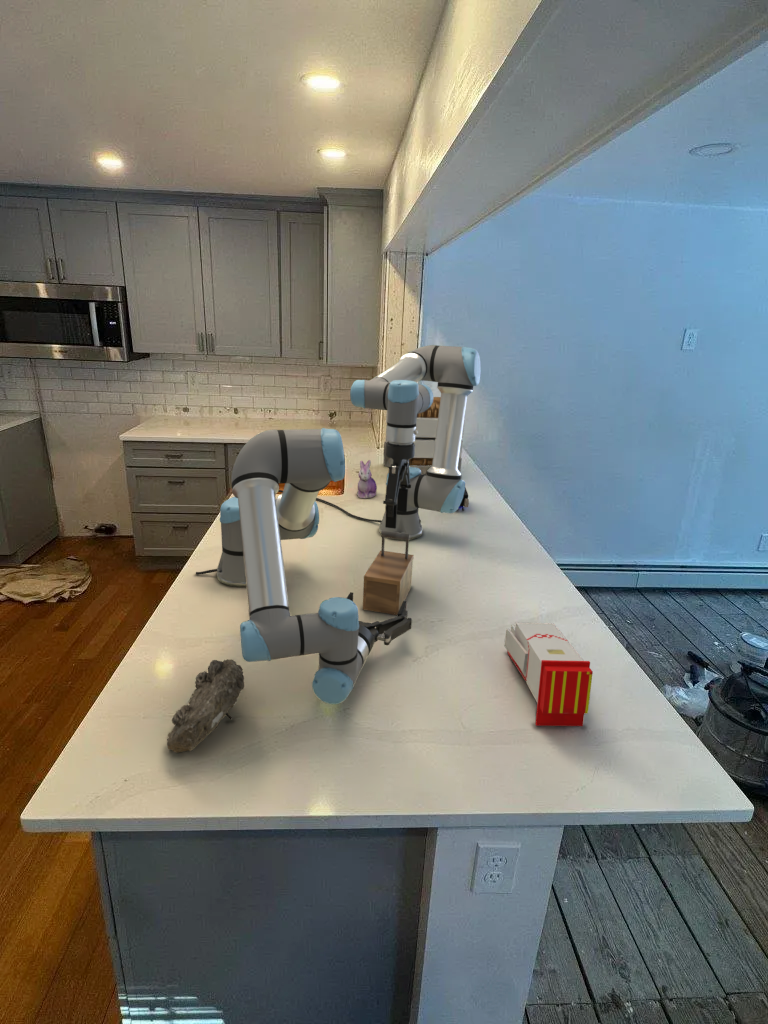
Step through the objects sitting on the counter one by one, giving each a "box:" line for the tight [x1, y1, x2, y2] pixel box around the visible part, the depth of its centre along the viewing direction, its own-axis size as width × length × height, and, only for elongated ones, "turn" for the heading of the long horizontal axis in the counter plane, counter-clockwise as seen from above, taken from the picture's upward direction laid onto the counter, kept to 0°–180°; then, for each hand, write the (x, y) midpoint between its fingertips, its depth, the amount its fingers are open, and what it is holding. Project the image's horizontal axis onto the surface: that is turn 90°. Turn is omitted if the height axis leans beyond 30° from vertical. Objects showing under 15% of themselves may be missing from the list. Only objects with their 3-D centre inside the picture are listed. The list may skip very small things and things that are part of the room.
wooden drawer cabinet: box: [383, 396, 465, 474], centre depth 268 cm, size 34×33×41 cm
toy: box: [503, 622, 594, 727], centre depth 121 cm, size 12×13×30 cm
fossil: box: [166, 658, 245, 754], centre depth 106 cm, size 22×10×15 cm
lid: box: [363, 531, 414, 585], centre depth 151 cm, size 17×10×8 cm, turn 166°
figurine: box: [356, 459, 378, 499], centre depth 236 cm, size 9×10×15 cm
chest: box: [362, 559, 414, 616], centre depth 154 cm, size 17×10×9 cm, turn 166°
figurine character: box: [458, 486, 470, 512], centre depth 229 cm, size 7×8×15 cm
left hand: (377, 601), depth 141 cm, fingers open, 13 cm apart
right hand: (396, 519), depth 154 cm, fingers open, 13 cm apart
